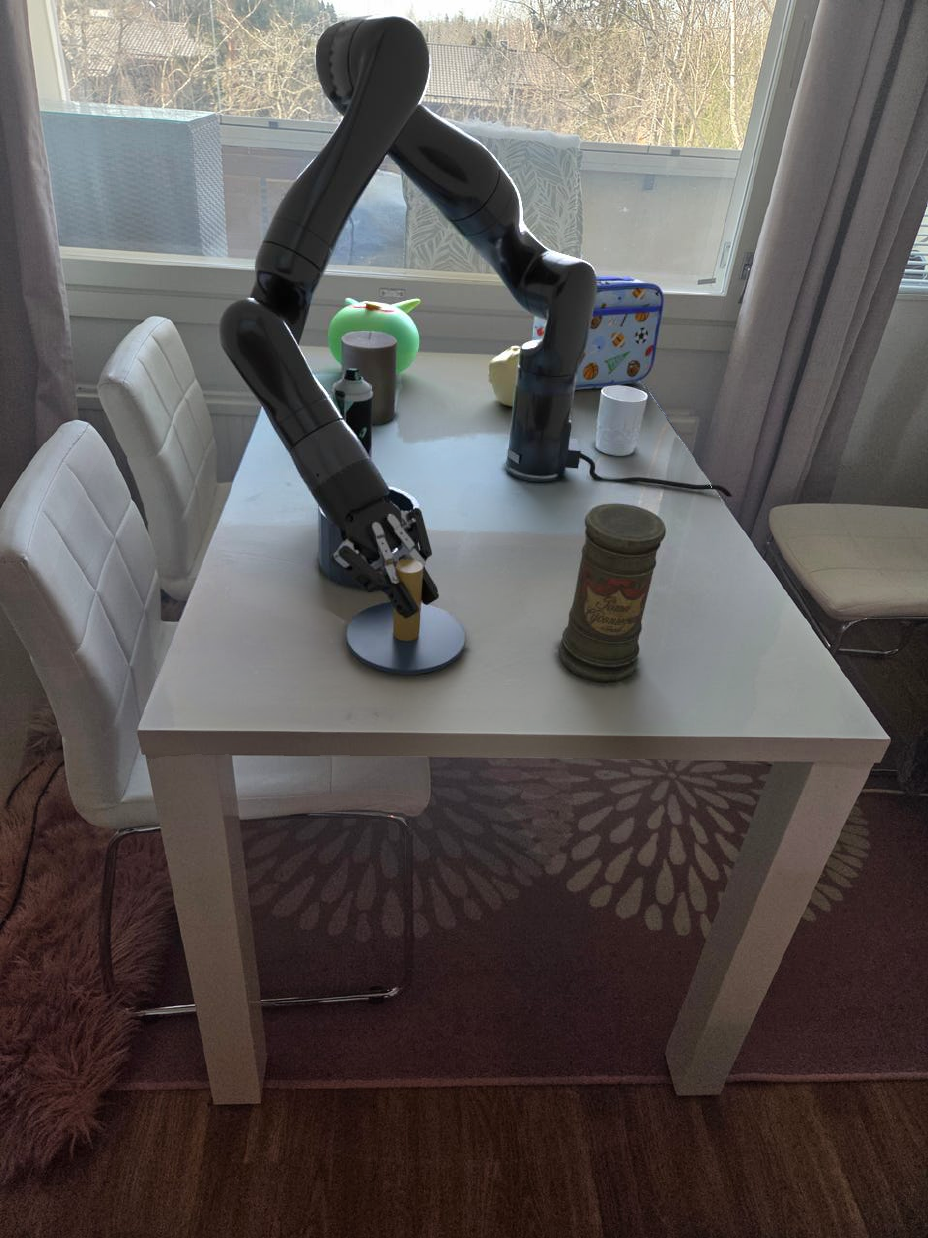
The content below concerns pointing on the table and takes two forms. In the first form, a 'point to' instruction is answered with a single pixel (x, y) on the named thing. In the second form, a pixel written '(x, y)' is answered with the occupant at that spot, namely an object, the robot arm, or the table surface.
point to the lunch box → (618, 333)
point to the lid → (406, 632)
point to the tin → (332, 541)
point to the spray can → (355, 405)
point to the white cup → (619, 419)
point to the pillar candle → (374, 368)
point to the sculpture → (504, 375)
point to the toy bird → (377, 327)
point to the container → (611, 592)
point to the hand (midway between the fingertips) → (422, 607)
